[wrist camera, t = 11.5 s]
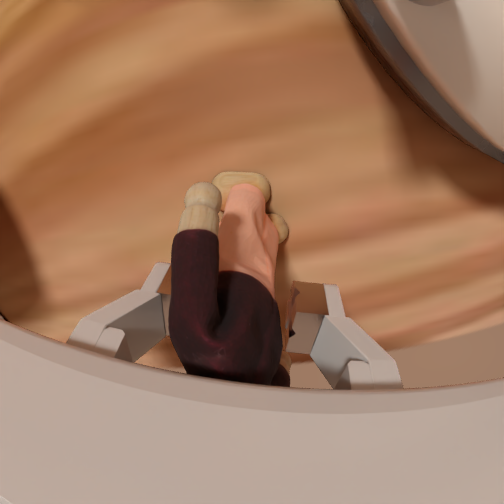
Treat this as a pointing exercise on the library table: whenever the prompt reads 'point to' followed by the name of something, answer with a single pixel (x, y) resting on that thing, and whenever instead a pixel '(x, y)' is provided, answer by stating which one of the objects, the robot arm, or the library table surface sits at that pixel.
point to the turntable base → (411, 74)
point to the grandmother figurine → (228, 283)
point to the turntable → (457, 54)
